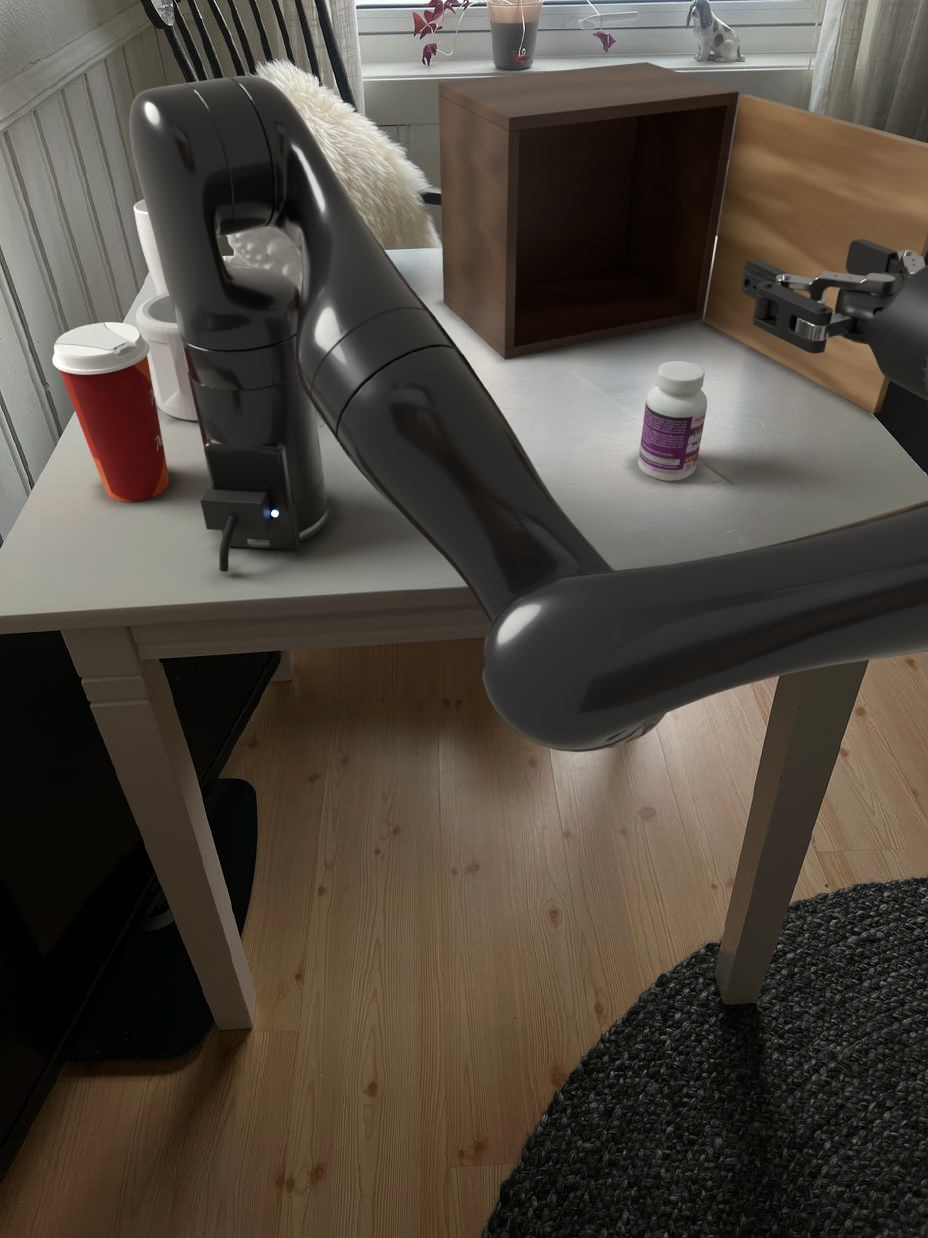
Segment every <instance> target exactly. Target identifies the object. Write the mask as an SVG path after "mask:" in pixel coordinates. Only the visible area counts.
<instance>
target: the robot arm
mask: <svg viewBox="0 0 928 1238" xmlns="http://www.w3.org/2000/svg"><path fill="white" fill-rule="evenodd" d="M131 103H132V104H131V106H130V110H129V117H128V129H129V130H128V131H129V142H130V147H131V148H130V149H131V154H132V158H133V163H134V166H135V170H136V174H137V178H138V183H139V187H140V189H141V194H142V197H143V199H144V200H145V204H146V208H147V211H148V215H149V218H150V222H151V225H152V229H153V233H154V237H155V241H156V244H157V248H158V252H159V257H160V261H161V265H162V270H163V274H164V278H165V282H166V286H167V289H168V292H169V296H170V299H171V302H172V305H173V309H174V312H175V316H176V320H177V325H178V329H179V334H180V339H181V343H182V348H183V353H184V357H185V362H186V367H187V371H188V377H189V381H190V386H191V391H192V395H193V400H194V405H195V409H196V414H197V419H198V421H197V423H198V427H199V432H200V437H201V441H202V446H203V451H204V457H205V461H206V466H207V471H208V476H209V481H210V485H211V486H208V487H206V490H205V491H204V493H203V494H202V496H201V498H200V499H199V500H200V506H201V510H202V515H203V518H204V522H205V527H206V530H211V531H212V530H213V531H220V532H221V535H222V536H221V542H220V547H219V555H218V557H219V559H218V562H219V563H218V564H219V565H218V566H219V571H220V572H222V573H226V572H228V571H229V555H230V548H231V547H237V548H239V547H240V548H251V549H252V548H253V549H269V550H286V551H295V550H297V549H298V547H299V545H300V544H301V543H302V542H303V541H306V540H308V539H309V538H312V537H313V536H315V535H316V534H317V533H319V532H320V531H321V530H322V529H323V528H324V527H325V525H326V524H327V523H328V520H329V517H330V507H329V506H330V505H329V501H328V497H327V491H326V484H325V475H324V469H323V461H322V452H321V446H320V436H319V429H318V422H317V421H318V420H317V413H318V414H319V416H320V417H321V418H322V420H323V422H324V423H325V424H326V426H327V427H328V429H329V430H330V432H331V434H332V436H333V437H334V438H335V439H336V441H337V442H338V444H339V446H340V447H341V449H342V450H343V452H344V453H345V454H346V456H347V457H348V459H349V460H350V461H351V463H352V464H353V465H354V466H355V467H356V469H357V470H358V471H359V472H360V474H361V475H362V476H363V477H364V478H365V479H366V480H367V481H368V482H369V484H371V486H372V487H373V488H374V489H375V490H376V491H377V492H378V493H379V494H380V495H381V497H383V498H384V499H385V500H386V501H387V502H388V504H389V505H391V506H392V507H393V508H394V510H395V511H396V512H397V513H398V514H399V515H400V516H401V517H402V518H403V519H404V520H405V521H406V522H407V523H408V524H409V525H410V526H412V528H413V529H415V531H416V532H418V533H419V534H420V535H421V537H423V538H424V540H426V541H427V542H428V543H429V544H430V545H431V546H432V547H433V548H434V549H435V550H437V552H438V553H439V554H440V555H441V556H442V557H443V558H444V559H445V560H446V561H447V563H449V564H450V565H451V567H453V569H454V570H455V571H456V573H457V574H458V575H459V576H460V577H461V579H462V580H463V581H464V583H465V585H466V586H467V587H468V588H469V590H470V591H471V593H472V594H473V596H474V597H475V599H476V600H477V602H478V603H479V605H480V607H481V608H482V610H483V612H484V614H485V615H486V618H487V619H488V620H489V622H490V626H489V627H488V630H487V631H486V634H485V638H484V641H483V644H482V648H481V658H480V659H481V660H480V672H481V679H482V684H483V687H484V690H485V693H486V696H487V699H488V700H489V702H490V704H491V706H492V708H493V709H494V711H495V713H496V714H497V715H498V717H500V718H501V719H502V721H503V722H504V723H505V724H506V725H507V726H508V727H509V728H511V729H512V730H513V731H514V732H516V733H517V734H518V735H519V736H520V737H523V738H524V739H526V740H529V741H530V742H533V743H534V744H536V745H538V746H541V747H545V748H548V749H552V750H554V751H555V750H556V751H558V752H568V753H588V752H595V751H602V750H606V749H613V748H616V747H620V746H622V745H626V744H629V743H632V742H634V741H637V740H639V739H640V738H642V737H644V736H646V735H647V734H649V733H650V732H651V731H652V730H653V729H654V728H656V727H657V725H658V724H660V722H661V721H662V720H663V719H664V717H665V715H666V714H667V713H670V712H673V711H676V710H677V709H679V708H680V709H681V708H682V707H684V706H688V705H691V704H692V703H695V702H697V701H700V700H703V699H705V698H708V697H711V696H714V695H717V694H720V693H723V692H726V691H729V690H733V689H735V688H739V687H742V686H746V685H750V684H754V683H757V682H760V681H765V680H768V679H773V678H776V677H777V678H778V677H782V676H785V675H791V674H796V673H799V672H804V671H809V670H815V669H821V668H825V667H831V666H837V665H838V666H839V665H843V664H850V663H851V664H852V663H858V662H864V661H871V660H878V659H887V658H893V657H899V656H905V655H912V654H918V653H919V654H920V653H925V652H928V500H925V501H922V502H919V503H915V504H911V505H909V506H904V507H901V508H898V509H894V510H891V511H887V512H883V513H880V514H877V515H874V516H871V517H866V518H864V519H860V520H857V521H853V522H850V523H846V524H843V525H840V526H836V527H833V528H829V529H826V530H822V531H818V532H814V533H811V534H808V535H804V536H800V537H796V538H793V539H789V540H784V541H780V542H777V543H773V544H769V545H764V546H760V547H756V548H751V549H745V550H741V551H736V552H732V553H726V554H720V555H716V556H711V557H706V558H700V559H695V560H693V559H692V560H687V561H682V562H675V563H669V564H661V565H653V566H652V565H651V566H645V567H636V568H628V569H627V568H626V569H618V570H615V569H614V567H612V565H611V564H610V563H609V562H608V561H607V560H606V559H605V558H604V557H603V556H602V555H601V554H600V552H599V551H598V550H597V549H596V548H595V547H594V546H593V544H592V543H591V542H590V541H589V540H588V539H587V537H586V536H584V534H583V533H582V532H581V531H580V530H579V529H578V527H577V526H576V525H575V524H574V522H573V521H572V520H571V519H570V517H569V516H568V515H567V514H566V513H565V512H564V510H563V509H562V507H561V506H560V505H559V503H558V502H557V501H556V499H555V498H554V497H553V495H552V494H551V491H550V490H549V488H548V486H547V485H546V483H545V482H544V481H543V479H542V477H541V475H540V474H539V471H538V470H537V468H536V467H535V465H534V464H533V462H532V460H531V458H530V457H529V455H528V453H527V450H525V448H524V446H523V445H522V443H521V441H520V439H519V438H518V435H517V434H516V432H515V431H514V429H513V428H512V426H511V424H510V423H509V422H508V420H507V418H506V417H505V415H504V413H503V412H502V410H501V408H500V407H499V406H498V404H497V403H496V401H495V399H494V398H493V396H492V394H491V393H490V392H489V390H488V389H487V388H486V387H485V385H484V383H483V382H482V380H481V378H480V377H479V376H478V374H477V373H476V370H474V368H473V367H472V365H471V363H470V362H469V361H468V358H467V357H466V356H465V354H463V352H462V350H461V349H460V348H459V346H458V345H457V344H456V343H455V341H454V340H453V339H452V337H451V335H450V334H449V333H448V332H447V331H446V329H445V327H444V326H443V325H442V323H441V322H440V321H439V320H438V319H437V317H436V315H435V314H434V313H433V312H432V311H431V310H430V309H429V307H428V306H427V305H426V304H425V302H424V301H423V300H422V299H421V298H420V296H419V295H418V293H416V292H415V290H414V289H413V288H412V286H411V285H410V284H409V282H408V281H407V280H406V278H405V277H404V275H403V274H402V273H401V271H400V270H399V268H398V267H397V265H396V264H395V263H394V262H393V261H392V260H393V259H391V257H390V255H388V253H387V252H386V250H385V249H384V247H383V246H382V244H381V243H380V242H379V240H378V239H377V237H376V236H375V234H374V233H373V231H372V230H371V229H370V227H369V226H368V225H367V223H366V221H365V220H364V218H363V217H362V215H361V214H360V213H359V211H358V210H357V208H356V206H355V204H354V203H353V201H352V200H351V198H350V196H349V195H348V193H347V192H346V190H345V187H344V186H343V185H342V183H341V182H340V180H339V178H338V176H337V174H336V173H335V171H334V169H333V167H332V165H331V164H330V162H329V160H328V159H327V157H326V155H325V154H324V152H323V150H322V149H321V147H320V145H319V143H318V142H317V139H316V138H315V136H314V135H313V133H312V132H311V130H310V128H309V127H308V125H307V123H306V122H305V120H304V118H303V116H302V115H301V114H300V112H299V110H298V109H297V108H296V106H295V105H294V103H292V101H291V100H290V99H289V98H288V96H287V95H286V94H285V93H284V92H283V91H282V90H281V89H280V88H279V87H278V86H277V85H276V84H274V83H272V82H271V81H270V80H268V79H265V78H262V77H259V76H253V75H251V76H250V75H236V76H229V77H220V78H213V79H207V80H199V81H191V82H184V83H178V84H177V83H176V84H171V85H164V86H163V85H162V86H158V87H153V88H149V89H148V88H147V89H146V90H143V91H141V92H139V93H138V94H137V95H136V96H135V97H134V99H133V101H132V102H131ZM268 226H271V227H274V228H276V229H278V230H280V231H281V232H282V233H283V234H284V235H285V236H286V237H287V238H288V239H289V241H290V242H291V243H292V245H293V246H294V248H295V250H296V251H297V253H298V255H299V257H300V259H301V262H302V288H301V294H300V291H299V288H298V286H297V285H296V284H295V282H294V281H293V280H291V279H290V278H289V277H287V276H285V275H283V274H281V273H278V272H276V271H273V270H270V269H266V268H260V267H254V266H247V265H240V264H235V263H231V262H227V261H225V260H224V256H223V253H222V250H221V245H220V242H219V238H222V237H227V235H232V234H236V233H241V232H245V231H250V230H255V229H259V228H262V227H268ZM846 270H847V272H848V273H850V274H845V273H837V272H829V271H823V272H821V273H819V274H818V276H817V277H815V278H812V277H804V276H797V275H790V274H789V273H787V272H785V271H783V270H780V269H778V268H776V267H774V266H772V265H770V264H768V263H766V262H764V261H761V260H759V259H755V260H750V261H747V262H746V264H745V268H744V271H743V278H742V285H741V291H742V293H744V294H746V295H748V296H749V297H751V298H753V299H755V300H756V302H755V309H754V316H753V322H752V324H753V325H755V326H757V327H759V328H761V329H763V330H765V331H767V332H769V333H771V334H773V335H775V336H777V337H779V338H781V339H783V340H785V341H787V342H789V343H791V344H793V345H795V346H797V347H799V348H801V349H803V350H805V351H807V352H809V353H822V352H824V351H825V347H826V342H827V338H830V337H834V336H842V337H844V338H846V339H848V340H851V341H852V342H855V343H861V344H867V345H869V347H870V348H871V350H872V352H873V354H874V357H875V359H876V362H877V364H878V367H879V369H880V371H881V372H882V373H883V375H884V376H885V377H886V378H887V379H889V380H890V382H891V383H894V384H896V385H897V386H899V387H901V388H903V389H906V390H907V391H908V392H910V393H912V394H913V395H916V396H918V397H919V398H922V399H923V400H925V401H927V402H928V250H927V251H926V255H925V257H923V256H918V254H917V252H914V251H912V250H902V251H899V252H898V253H897V252H896V251H894V250H891V249H889V248H886V247H883V246H881V245H878V244H876V243H873V242H871V241H868V240H866V239H859V240H854V241H852V242H851V244H850V247H849V252H848V256H847V261H846ZM829 287H835V288H840V290H839V292H838V296H837V301H836V306H835V313H833V309H832V308H830V307H828V306H826V305H825V300H826V295H827V290H828V288H829ZM794 289H795V290H802V291H807V292H809V293H810V298H808V297H805V296H803V295H801V294H798V293H796V292H794ZM316 411H317V413H316Z"/></svg>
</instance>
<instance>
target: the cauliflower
mask: <svg viewBox="0 0 928 1238" xmlns="http://www.w3.org/2000/svg"><path fill="white" fill-rule="evenodd" d="M226 237H227V241H228V245H229V246H230V248H231V249H232V250H233V256H232V257H231V258H230V259H229V258H228V257H227V256H226V255H224V257H223V259H224V260H225V261H227V262H231V263H235V264H240V265H247V266H254V267H260V268H266V269H270V270H273V271H276V272H278V273H281V274H283V275H285V276H287V277H289V278H290V279H291V280H293V281H294V282H295V284H296V285H297V286H298V288H299V291H300V294H301V288H302V262H301V259H300V257H299V255H298V253H297V251H296V250H295V248H294V246H293V245H292V243H291V242H290V241H289V239H288V238H287V237H286V236H285V235H284V234H283V233H282V232H281V231H280V230H278V229H276V228H274V227H271V226H268V227H262V228H259V229H255V230H250V231H245V232H241V233H236V234H232V235H227V236H226Z"/></svg>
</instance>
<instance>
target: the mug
mask: <svg viewBox="0 0 928 1238" xmlns="http://www.w3.org/2000/svg"><path fill="white" fill-rule="evenodd" d="M135 320H136V325H137V329H138V330H139V331H140V333H141V335H142V338H143V339H144V340H146V341H147V343H148V344H149V348H150V350H149V353H148V354H147V357H148V363H149V368H150V374H151V379H152V385H153V390H154V396H155V401H156V405H157V406H158V408H159V409H160V410H161V411H162V412H164V413H165V414H167V415H169V416H171V417H173V418H176V419H179V420H185V421H195V422H196V421H197V422H198V419H197V414H196V409H195V405H194V400H193V395H192V391H191V386H190V381H189V377H188V371H187V367H186V362H185V357H184V353H183V348H182V343H181V339H180V334H179V329H178V325H177V320H176V316H175V312H174V309H173V305H172V302H171V299H170V296H169V292H166V293H163V294H160V295H155V296H153V297H151V298H149V299H147V300H146V301H144V302H143V303H141V305H140V306H139V307H138V309H137V312H136V314H135Z"/></svg>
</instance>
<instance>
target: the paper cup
mask: <svg viewBox="0 0 928 1238" xmlns="http://www.w3.org/2000/svg"><path fill="white" fill-rule="evenodd" d="M53 350H54V353H53V354H52V355H53V356H52V364H53V366H54V367H55V368H57V369H58V370H59V372H60V375H61V377H62V380H63V383H64V385H65V387H66V390H67V393H68V396H69V398H70V401H71V404H72V406H73V409H74V411H75V414H76V417H77V419H78V422H79V425H80V428H81V430H82V433H83V437H84V439H85V441H86V443H87V446H88V449H89V451H90V455H91V457H92V459H93V462H94V464H95V468H96V469H97V472H98V475H99V477H100V480H101V482H102V485H103V487H104V489H105V492H106V494H107V495H108V496H109V497H110V498H111V499H113V500H115V501H118V502H124V503H135V502H141V501H146V500H149V499H151V498H155V497H156V496H159V495H160V494H161V493H162V492H164V491H165V490H166V489H167V487H168V486H169V483H170V480H169V471H168V464H167V459H166V452H165V446H164V441H163V440H164V439H163V435H162V430H161V424H160V419H159V413H158V407H157V401H156V398H155V394H154V390H153V385H152V379H151V374H150V368H149V363H148V357H147V354H148V353H149V350H150V348H149V344H148V343H147V341H146V340H144V339H143V338H142V335H141V333H140V331H139V329H138V327H135V326H134V325H131V324H128V323H125V322H114V321H105V322H98V323H96V322H95V323H91V324H85V325H82V326H78V327H75V328H72V329H70V330H68V331H66V332H64V333H62V334H61V335H60V336H59V337H58V338H57V339H56V341H55V343H54V346H53Z"/></svg>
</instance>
